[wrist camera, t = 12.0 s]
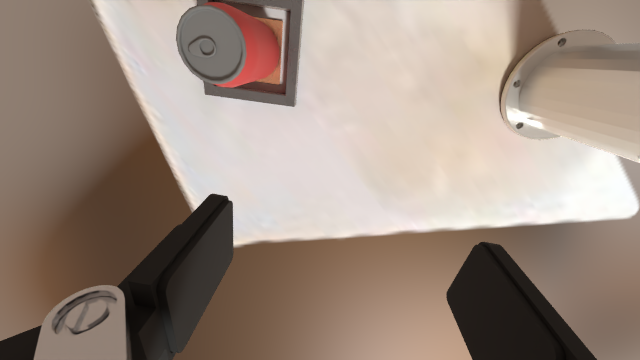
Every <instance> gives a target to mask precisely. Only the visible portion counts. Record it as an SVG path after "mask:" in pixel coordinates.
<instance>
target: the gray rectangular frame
mask: <svg viewBox="0 0 640 360" xmlns="http://www.w3.org/2000/svg"><path fill="white" fill-rule="evenodd" d="M217 1H224V2H231V3H238V4H245V5H251V6H258V7H265V8H272V9H279V10H285V11H291V15H290V31H289V48H288V65H287V81H286V94H282V93H274V92H267V91H260V90H253V89H246V88H239V87H233V88H231V87H220V86H217V85H214V84H211V83H209V82H206V81H204V89H205V94H206V95H213V96H220V97H227V98H235V99H242V100H249V101H256V102H263V103H270V104H278V105H285V106H292V107H294V106H295V105H296V95H297V83H298V70H299V58H300V45H301V33H302V20H303V8H304V0H217ZM208 2H214V0H197V5H202V4H205V3H208ZM254 18H256V19H258V20H260V21H262V22H264V23H265V24H266V25H267V26H268V27H269V28H271V30H272V31H273V33H274V34H275V36H276V38H277V41H278V44H279V54H280V57H279V61H278V65H277V66H276V68H275V70H274V71H273V73H271V74H270V75H269V76H268V77H266V78H263V79H260V80H256V81H258V82H265V83H272V84H279V85H280V69H281V48H282V28H283V21H278V20H271V19H264V18H257V17H254Z"/></svg>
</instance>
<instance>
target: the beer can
mask: <svg viewBox="0 0 640 360" xmlns="http://www.w3.org/2000/svg"><path fill="white" fill-rule="evenodd" d="M176 41H177V46H178V51H179V54H180V56H181V58H182V60H183V62H184V64H185V65H186V66H187V67H188V69H189V70H190V71H191V72H192V73H193V74H194V75H196V76H197V77H198V78H200V79H201V80H203V81H206V82H209V83H211V84H214V85H217V86H220V87H231V88H233V87H237V86H240V85H243V84H246V83H250V82H253V81H256V80H260V79H263V78H266V77H268V76H269V75H270V74H271V73H273V71H274V70H275V68H276V66H277V65H278V61H279V57H280V54H279V44H278V41H277V38H276V36H275V34H274V33H273V31H272V30H271V28H269V27H268V26H267V25H266V24H265V23H264V22H262V21H260V20H258V19H256V18H254V17H252V16H250V15H248V14H246V13H244V12H242V11H240V10H238V9H237V8H234V7H232V6H230V5H227V4H225V3H219V2H208V3H205V4H202V5H197V6H195V7H192V8H189V9H188V10H187V11H186V12H185V13H184V14H183V15H182V16H181V19H180V21H179V24H178V26H177V34H176Z"/></svg>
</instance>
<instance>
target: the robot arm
mask: <svg viewBox="0 0 640 360" xmlns="http://www.w3.org/2000/svg"><path fill="white" fill-rule="evenodd" d="M501 113H502V116H503V119H504V121H505V123H506V124H507V126H508V127H509V128H510V129H511V130H512V131H513V132H514V133H516V134H518V135H520V136H523V137H526V138H528V139H534V140H548V139H553V138H557V137H560V136H562V137H565V138H568V139H571V140H574V141H577V142H580V143H583V144H586V145H589V146H591V147H594V148H597V149H600V150H603V151H606V152H609V153H612V154H615V155H618V156H621V157H624V158H627V159H630V160H632V161H635V162H638V163H640V43H626V44H616V43H615V42H614V41H613V39H612V38H610V37H609V36H607V35H606V34H604V33H602V32H598V31H595V30H576V31H569V32H565V33H562V34H558V35H556V36H554V37H551V38H549V39H547V40H545V41H544V42H542V43H540V44H539V45H537V46H536V47H534V48H533V49H532V50H531V51H530V52H529V53H527V54H526V55H525V56H524V57H523V58H522V59H521V61H520V62H519V63H518V64H517V65H516V67H515V68H514V69H513V71H512V72H511V74H510V76H509V78H508V80H507V82H506V84H505V86H504V90H503V93H502V98H501ZM232 258H233V203H232V201H229V200H228V197H227V196H223V195H217V194H210V195H209V196H208V197H207V198H206V199H205V200H204V201H203V202H202V204H201V205H200V206H199V207H198V208H197V209H196V210H195V211H194V212H193V213H192V214H191V215H190V216H189V217H188V218H187V219H186V220H185V221H184V222H183V223H182V224H180V225H178V226H176V227H175V228H174V229H173V230H172V231H171V232H170V233H169V234H168V235H167V236H166V237H165V238H164V240H162V241H161V242H160V243H159V245H157V247H156V248H155V249H154V250H153V251H152V252H151V253H150V254H149V255H148V256H147V257H146V258H145V259H144V260H143V261H142V262H141V263H140V264H139V265H138V266H137V267H136V268H135V269H134V270H133V271H132V272H131V273H130V274H129V275H128V276H127V277H126V278H125V279H124V280H123V281H122V282H121V283H120V284H119V285H118V286H117V287H114V286H111V285H100V286H95V287H90V288H87V289H85V290H82V291H79V292H77V293H75V294H73V295H71V296H70V297H68V298H66V299H64V300H63V301H62V302H61V303H59V304H58V305H57V306H56V307H54V309H52V311H51V312H50V313H49V314H48V315H47V316H46V318H45V320H44V322H43V324H42V325H41V326H38V327H36V328H33V329H31V330H28V331H25V332H23V333H20V334H18V335H15V336H13V337H10V338H7V339H5V340H2V341H0V360H172V359H173V357H174V356H175V353H176V352H177V353H180V352H182V350H183V349H184V347H185V346H186V344H187V342H188V341H189V339H190V337H191V335H192V333H193V331H194V329H195V328H196V326H197V324H198V322H199V320H200V318H201V316H202V315H203V313H204V311H205V309H206V307H207V305H208V304H209V302H210V300H211V298H212V296H213V294H214V292H215V291H216V289H217V287H218V285H219V283H220V281H221V280H222V278H223V276H224V274H225V272H226V270H227V268H228V267H229V265H230V263H231V261H232ZM447 301H448V304H449V306H450V308H451V310H452V313H453V315H454V318H455V320H456V322H457V325H458V327H459V329H460V332H461V334H462V336H463V338H464V341H465V343H466V345H467V348H468V350H469V353H470V355H471V357H472V359H473V360H597V359H596V358H595V357H594V355H593V354H592V353H591V352H590V351H589V350H588V348H587V347H586V346H585V345H584V344H583V342H582V341H581V340H580V339H579V338H578V336H577V335H576V334H575V333H574V332H573V331H572V329H571V328H570V327H569V326H568V325H567V323H566V322H565V321H564V320H563V319H562V317H561V316H560V315H559V314H558V313H557V312H556V310H555V309H554V308H553V307H552V305H551V304H550V303H549V302H548V301H547V300H546V298H545V297H544V296H543V295H542V294H541V292H540V291H539V290H538V289H537V288H536V286H535V285H534V284H533V283H532V282H531V281H530V279H529V278H528V277H527V276H526V275H525V273H524V272H523V271H522V270H521V269H520V267H519V266H518V265H517V264H516V263H515V261H514V260H513V259H512V258H511V257H510V255H509V254H508V253H507V252H506V251H505V250H504V249H503V247H502V246H500V245H498V244H493V243H487V242H481V243H479V244H478V245H475V246H474V247H473V249H472V251H471V252H470V254H469V256H468V257H467V259H466V261H465V262H464V264H463V266H462V267H461V269H460V271H459V273H458V274H457V276H456V277H455V279H454V281H453V283H452V284H451V286H450V287H449V289H448V291H447Z"/></svg>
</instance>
